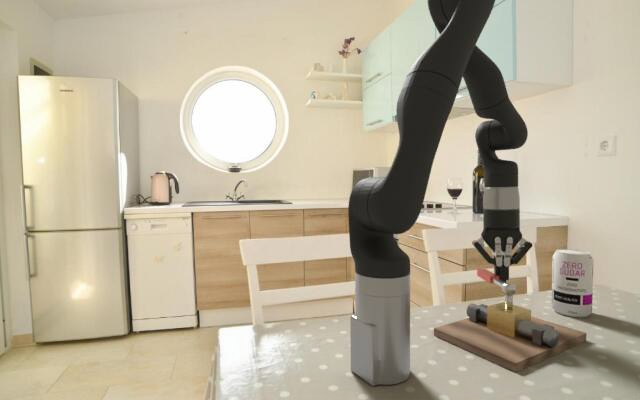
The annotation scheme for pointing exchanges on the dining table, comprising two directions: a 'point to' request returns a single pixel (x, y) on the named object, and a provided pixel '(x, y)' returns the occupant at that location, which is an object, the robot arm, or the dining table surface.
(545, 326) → the pipe valve
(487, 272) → the valve lever
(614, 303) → the dining table surface
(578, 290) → the supplement can
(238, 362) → the dining table surface
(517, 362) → the valve board
